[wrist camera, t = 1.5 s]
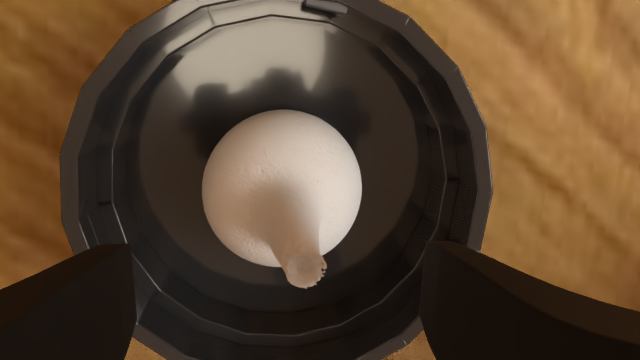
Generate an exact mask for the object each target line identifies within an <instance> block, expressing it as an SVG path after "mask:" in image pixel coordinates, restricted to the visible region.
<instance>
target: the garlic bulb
mask: <svg viewBox="0 0 640 360" xmlns="http://www.w3.org/2000/svg"><path fill="white" fill-rule="evenodd" d="M361 196H362V182H361V174H360V169H359V165H358V162H357V159H356V157H355V155H354V153H353V151H352V149H351V147H350V146H349V144H348V143H347V142H346V140H345V139H344V138H343V137H342V135H341V134H340V133H339V132H338V131H337V130H336V129H334V128H333V127H332V126H331V125H329V124H328V123H326V122H325V121H323V120H322V119H320V118H318V117H316V116H313V115H310V114H307V113H304V112H301V111H295V110H284V109H283V110H272V111H266V112H262V113H259V114H256V115H254V116H251V117H249V118H247V119H245V120H243V121H242V122H240V123H239V124H237V125H236V126H234V127H233V128H232V129H231V130H229V131H228V132H227V133H226V134H225V135H224V136H223V138H222V139H221V140H220V141H219V142H218V144H217V145H216V147H215V148H214V150H213V152H212V153H211V155H210V157H209V159H208V162H207V165H206V167H205V170H204V174H203V180H202V200H203V206H204V212H205V214H206V217H207V220H208V222H209V224H210V226H211V228H212V230H213V231H214V233H215V234H216V236H217V237H218V238H219V240H220V241H221V242H222V243H223V244H224V245H225V246H226V247H227V248H228V249H230V250H231V251H232V252H233V253H235V254H236V255H238V256H240V257H241V258H244V259H246V260H248V261H250V262H253V263H256V264H260V265H264V266H271V267H282V269H283V270H284V272H285V274H286V277H287V279H288V281H289V282H290V284H292V285H294V286H296V287H300V288H305V289H306V288H307V287H312V286H314V285H317V284H316V282H317V281H320V279H321V277H323V276H324V275H323V274H322V273H325V270H324V271H323V272H322V270H321V269H322V268H323V269H326V268H327V264H326V262H325V261H324V259H323V257H322V255H324V254H326V253H327V252H329V251H330V250H332V249H333V248H334V247H335V246H336V245H337V244H338V243H339V242H340V241H341V240H342V239H343V238H344V237H345V235H346V234H347V233H348V231H349V230H350V228H351V227H352V225H353V223H354V221H355V219H356V216H357V213H358V210H359V206H360V202H361ZM321 262H322V263H323V264H324V265H323V264H322V263H321Z"/></svg>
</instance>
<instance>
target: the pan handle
mask: <svg viewBox="0 0 640 360" xmlns="http://www.w3.org/2000/svg"><path fill="white" fill-rule="evenodd" d="M304 5H305V6H307V7H311V8H315V9H320V10H324V11H328V12H332V13H336V14H340V15H344V14H346V13H347V9H348V7H346V6H344V5H342V4H340V3H335V2H327V1H320V0H305V1H304Z"/></svg>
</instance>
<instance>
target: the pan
mask: <svg viewBox="0 0 640 360" xmlns="http://www.w3.org/2000/svg"><path fill="white" fill-rule="evenodd" d="M304 1H305V0H174V1H172V2H171V3H169V4H167V5H166V6H164V7H162V8H161V9H159V10H157V11H156V12H154V13H153V14H151V15H149V16H148V17H146V18H144V19H143V20H141V21H139V22H138V23H136V24H135V25H133V26H131V27H130V28H129V30H126V31H125V33H124V34H123V35H122V36H121V38H120V39H119V40H118V41H117V43H116V44H115V45H114V46H113V48H112V49H111V50H110V51H109V53H108V54H107V55H106V56H105V58H104V59H103V60H102V61H101V63H100V64H99V65H98V66H97V68H96V69H95V70H94V71H93V73H92V74H91V75H90V77H89V78H88V79H87V80H86V82H85V83H84V84H83V86H82V88H81V89H80V92H79V95H78V98H77V101H76V105H75V108H74V111H73V114H72V117H71V120H70V123H69V126H68V129H67V132H66V135H65V138H64V141H63V144H62V147H61V150H60V156H59V157H60V189H61V220H62V225H63V228H64V230H65V233H66V235H67V238H68V241H69V243H70V246H71V248H72V251H73V253H74V255H77V254H79V253H81V252H83V251H85V250H87V249H90V248H92V247H95V246H97V245H101V244H118V243H131V255H132V266H133V278H134V289H135V301H136V312H137V321H136V325H135V328H134V331H133V335H132V337H133V338H135V339H136V340H138V341H139V342H141V343H142V344H144V345H145V346H147V347H148V348H150V349H151V350H153V351H154V352H156V353H158V354H159V355H161V356H162V357H164V358H165V359H167V360H381V359H383V358H385V357H387V356H389V355H390V354H392V353H394V352H396V351H398V350H400V349H401V348H403V347H405V346H407V344H409V343H410V342H411V341H412V340H413V339H415V338H416V337H417V336H418V335H419V334H420V333H421V332H422V331H423V330H424V328H423V325H422V322H421V319H420V316H419V304H420V295H421V285H422V276H423V266H424V257H425V248H426V241H452V242H455V243H458V244H461V245H464V246H466V247H468V248H471V249H473V250H475V251H477V252H480V249H481V245H482V240H483V236H484V231H485V226H486V222H487V217H488V213H489V208H490V203H491V199H492V194H493V192H492V191H493V185H492V176H491V166H490V156H489V147H488V137H487V129H486V125H485V123H484V121H483V118H482V116H481V114H480V112H479V110H478V108H477V105H476V103H475V101H474V99H473V97H472V94H471V92H470V90H469V88H468V86H467V84H466V81H465V79H464V77H463V75H462V73H461V71H460V69H459V68H458V66H457V65H456V64H455V63H454V62H453V61H452V60H451V59H450V57H449V56H448V55H447V54H446V53H445V52H444V51H443V50H442V49H441V48H440V47H439V46H438V45H437V44H436V43H435V42H434V41H433V40H432V39H431V38H430V37H429V36H428V35H427V34H426V32H425V31H424V30H423V29H422V28H421V27H420V26H419V25H418V24H417V23H416V22H415V21H414V20H413V19H412V18H410V17H409V16H408V15H406V14H404V13H402V12H400V11H398V10H396V9H394V8H392V7H390V6H388V5H387V4H385V3H383V2H381V1H379V0H320V1H327V2H335V3H340V4H342V5H344V6H346V7H348V9H347V13H346V14H344V15H340V14H336V13H332V12H328V11H324V10H320V9H315V8H311V7H307V6H305V5H304ZM283 109H284V110H295V111H301V112H304V113H307V114H310V115H313V116H316V117H318V118H320V119H322V120H323V121H325V122H326V123H328V124H329V125H331V126H332V127H333V128H334V129H336V130H337V131H338V132H339V133H340V134H341V135H342V137H343V138H344V139H345V140H346V142H347V143H348V144H349V146H350V147H351V149H352V151H353V153H354V155H355V157H356V159H357V162H358V165H359V169H360V174H361V182H362V196H361V202H360V206H359V210H358V213H357V216H356V219H355V221H354V223H353V225H352V227H351V228H350V230H349V231H348V233H347V234H346V235H345V237H344V238H343V239H342V240H341V241H340V242H339V243H338V244H337V245H336V246H335V247H334V248H333V249H332V250H330V251H329V252H327V253H326V254H324V255H322V257H323V259H324V261H325V262H326V264H327V268H326V269H323V268H322V269H321V270H322V272H323V271H324V270H325V273H322V274H323V275H324V276H323V277H321V279H320V281H317V282H316V284H317V285H314V286H312V287H307V288H306V289H305V288H300V287H296V286H294V285H292V284H290V282H289V281H288V279H287V277H286V274H285V272H284V270H283V269H282V267H271V266H264V265H260V264H256V263H253V262H250V261H248V260H246V259H244V258H241V257H240V256H238V255H236V254H235V253H233V252H232V251H231V250H230V249H228V248H227V247H226V246H225V245H224V244H223V243H222V242H221V241H220V240H219V238H218V237H217V236H216V234H215V233H214V231H213V230H212V228H211V226H210V224H209V222H208V220H207V217H206V214H205V212H204V206H203V200H202V180H203V174H204V170H205V167H206V165H207V162H208V159H209V157H210V155H211V153H212V152H213V150H214V148H215V147H216V145H217V144H218V142H219V141H220V140H221V139H222V138H223V136H224V135H225V134H226V133H227V132H228V131H229V130H231V129H232V128H233V127H234V126H236V125H237V124H239V123H240V122H242V121H243V120H245V119H247V118H249V117H251V116H254V115H256V114H259V113H262V112H266V111H272V110H283ZM321 263H322V262H321ZM322 264H323V263H322ZM323 265H324V264H323Z"/></svg>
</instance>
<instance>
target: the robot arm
mask: <svg viewBox="0 0 640 360" xmlns="http://www.w3.org/2000/svg"><path fill="white" fill-rule="evenodd" d="M419 316H420V319H421V322H422V325H423V328H424V331H425V334H426V337H427V340H428V343H429V345H430V348H431V350H432V352H433V354H434V356H435V358H436V360H640V312H639V311H635V310H631V309H627V308H623V307H619V306H616V305H612V304H609V303H605V302H602V301H598V300H595V299H592V298H589V297H586V296H583V295H580V294H577V293H574V292H571V291H568V290H565V289H563V288H560V287H557V286H554V285H552V284H550V283H547V282H545V281H542V280H540V279H537V278H535V277H532V276H530V275H528V274H525V273H523V272H521V271H519V270H516V269H514V268H512V267H510V266H507V265H505V264H503V263H501V262H499V261H497V260H495V259H492V258H490V257H488V256H486V255H484V254H482V253H480V252H477V251H475V250H473V249H471V248H468V247H466V246H464V245H461V244H458V243H455V242H452V241H426V248H425V257H424V266H423V276H422V285H421V295H420V304H419ZM136 321H137V312H136V301H135V289H134V278H133V266H132V255H131V243H118V244H101V245H97V246H95V247H92V248H90V249H87V250H85V251H83V252H81V253H79V254H77V255H74V256H72V257H70V258H68V259H66V260H64V261H62V262H60V263H58V264H56V265H54V266H52V267H50V268H48V269H45V270H43V271H41V272H39V273H37V274H35V275H33V276H30V277H28V278H26V279H24V280H21V281H19V282H17V283H15V284H12V285H10V286H8V287H6V288H3V289H1V290H0V360H124V358H125V356H126V353H127V350H128V347H129V344H130V341H131V338H132V335H133V331H134V328H135V325H136Z"/></svg>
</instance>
